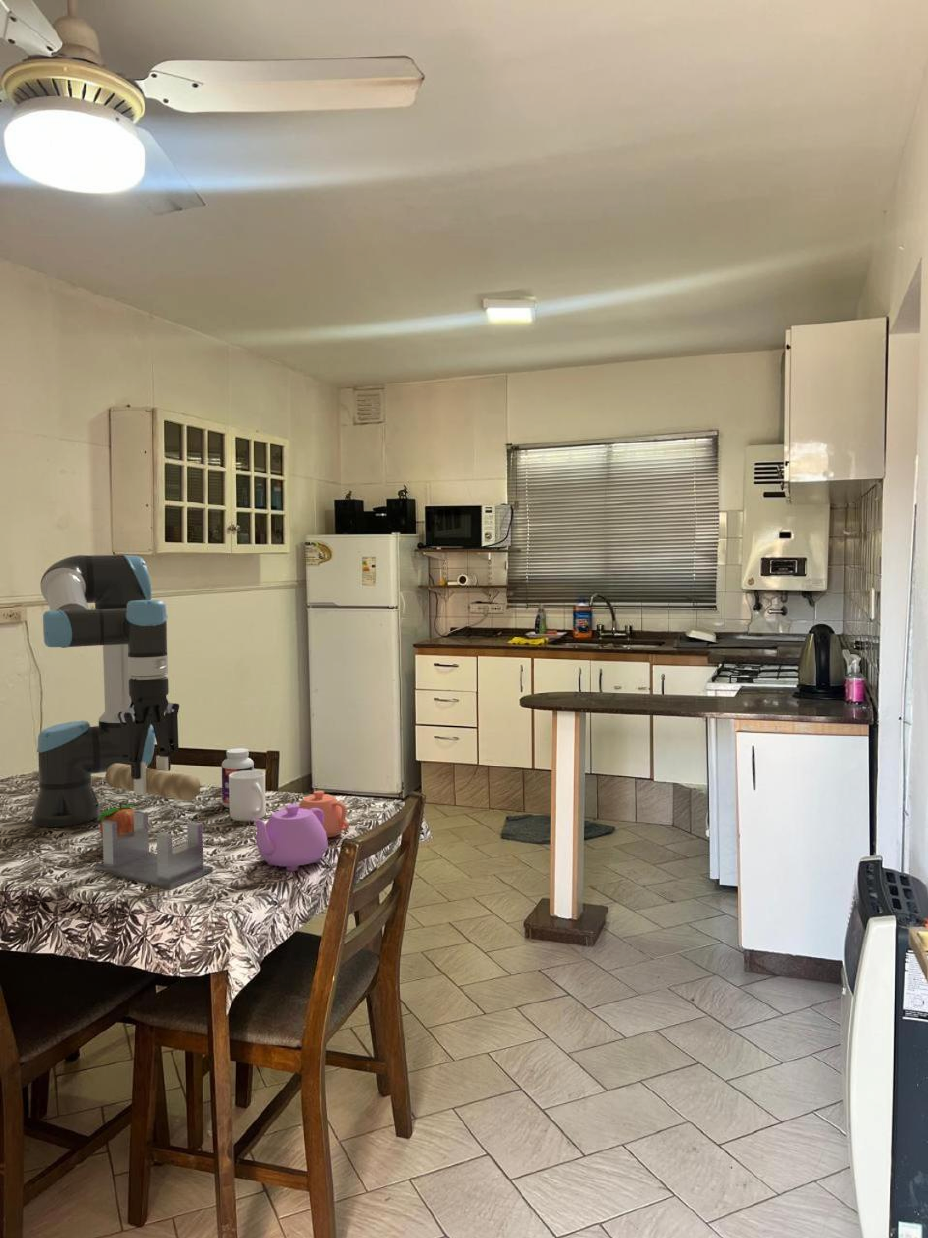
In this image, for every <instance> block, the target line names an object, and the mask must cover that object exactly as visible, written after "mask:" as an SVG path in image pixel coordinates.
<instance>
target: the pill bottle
mask: <svg viewBox="0 0 928 1238" xmlns="http://www.w3.org/2000/svg"><path fill="white" fill-rule="evenodd" d="M249 755H250V754H249V749H248V748H242V747H241V748H239V747H238V748H230V749H228V750H226V759H224V760H223V761H222V763H221V802H222V805H223V807H225V808H226V809H227V808H228V809H230V801H229V775H230V774H231V773H234V772H238V771H245V770H255V766H254V765H255V763H254V759H253V760H252V759H251V757H249Z"/></svg>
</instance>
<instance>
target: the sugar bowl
mask: <svg viewBox="0 0 928 1238" xmlns="http://www.w3.org/2000/svg"><path fill="white" fill-rule="evenodd" d="M298 805H299V808H302V809H308V810H310V809H311V808H318V809H320V810H322V811H323V813H324V823H323V828H324V830H325V831H326V834H327V836H326V837H327V839H328V838H329V839H330V838H333V837H337V836H339V835H340V834H341V833H342V832H344V831H345V832H346V831H347V830H349V828H350V824H349V822H347V818H346V816H347V812H348V811H347V809H348V808H347V806H346V805H345V803H343V802H341V801H338V799H337V798H336V797H335V796H334V795H331V794H329V793H325V791H323V790H316V791H315V790H314V791H313V794H311V795H307V796H305V797H303V798H302V800H301V801H300V802H299V804H298ZM314 814H315V815H316V817H317V818H318V813H317V812H315V813H314Z"/></svg>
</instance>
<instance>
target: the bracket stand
mask: <svg viewBox="0 0 928 1238" xmlns="http://www.w3.org/2000/svg"><path fill="white" fill-rule="evenodd" d="M135 811H136V810H135ZM133 813H134V831H132V832H129V833H126V834H123V835H120V836H118V835H117V822H113V821H108V820H107V821H104V822H102V828H103V839H102V849H103V851H102V853H103V855H102V856H103V857H102V858H103V862H101V863H98V864H94V871H96V870H98V871H97V872H100V871H102V872H101V873H104V872H106V873H105V874H107V873H109V875H111V874H113V875H112V876H115V875H116V876H115V877H120V878H123V879H128V880H131V881H134V882H139V883H142V884H146V885H150V886H154V887H158V888H163V889H165V890H168V891H170V890H172V889H175V888H178V887H179V886H180V887H181V886H183V885H184V884H187V883H191V882H192V881H194V880H197V879H200V878H201V877H204V876H206V875H208V874H212V873H213V871H214V869H213V866H211V865H210V866H209V865H205V864H204V844H203V840H204V839H203V823H200V822H195V821H190V822H187V823H186V829H187V830H186V831H187V832H186V833H187V834H186V835H187V842H185V843H183V844H180V845H177V846H175V847H173V834H172V833H168V832H164V831H160V832H157V833H156V853H154V852H150V843H149V842H150V841H149V840H150V839H149V813H148V812H146V811H145V812H144V811H139V810H137V811H136V812H133Z"/></svg>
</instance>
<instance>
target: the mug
mask: <svg viewBox="0 0 928 1238" xmlns="http://www.w3.org/2000/svg"><path fill="white" fill-rule="evenodd" d="M229 801H230V808H229V817H230V819H232V820H233V821H235V822H253V821H252V820H251V819H257V820H262V818H264V817H265V816H266V809H267V808H266V773H265V772H264V771H262V770H255V769H254V770H245V771H238V772H234V773H231V774H230V775H229Z"/></svg>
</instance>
